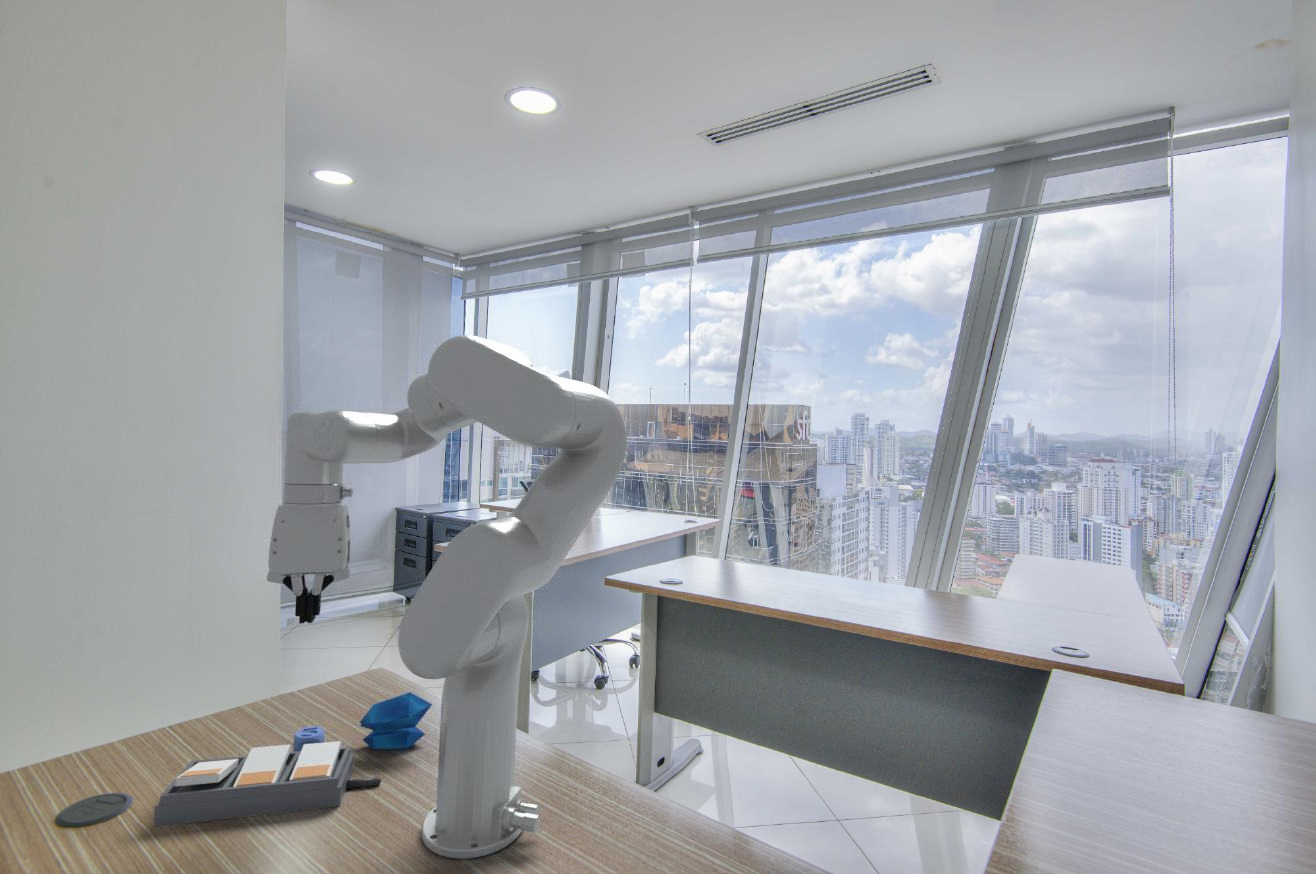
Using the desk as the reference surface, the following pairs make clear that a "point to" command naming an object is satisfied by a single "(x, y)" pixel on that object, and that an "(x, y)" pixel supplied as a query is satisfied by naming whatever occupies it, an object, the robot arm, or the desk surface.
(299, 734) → the decorative dice
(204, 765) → the rocker
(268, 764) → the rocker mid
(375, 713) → the crystal
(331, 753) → the rocker
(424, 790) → the desk surface
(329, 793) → the strip
